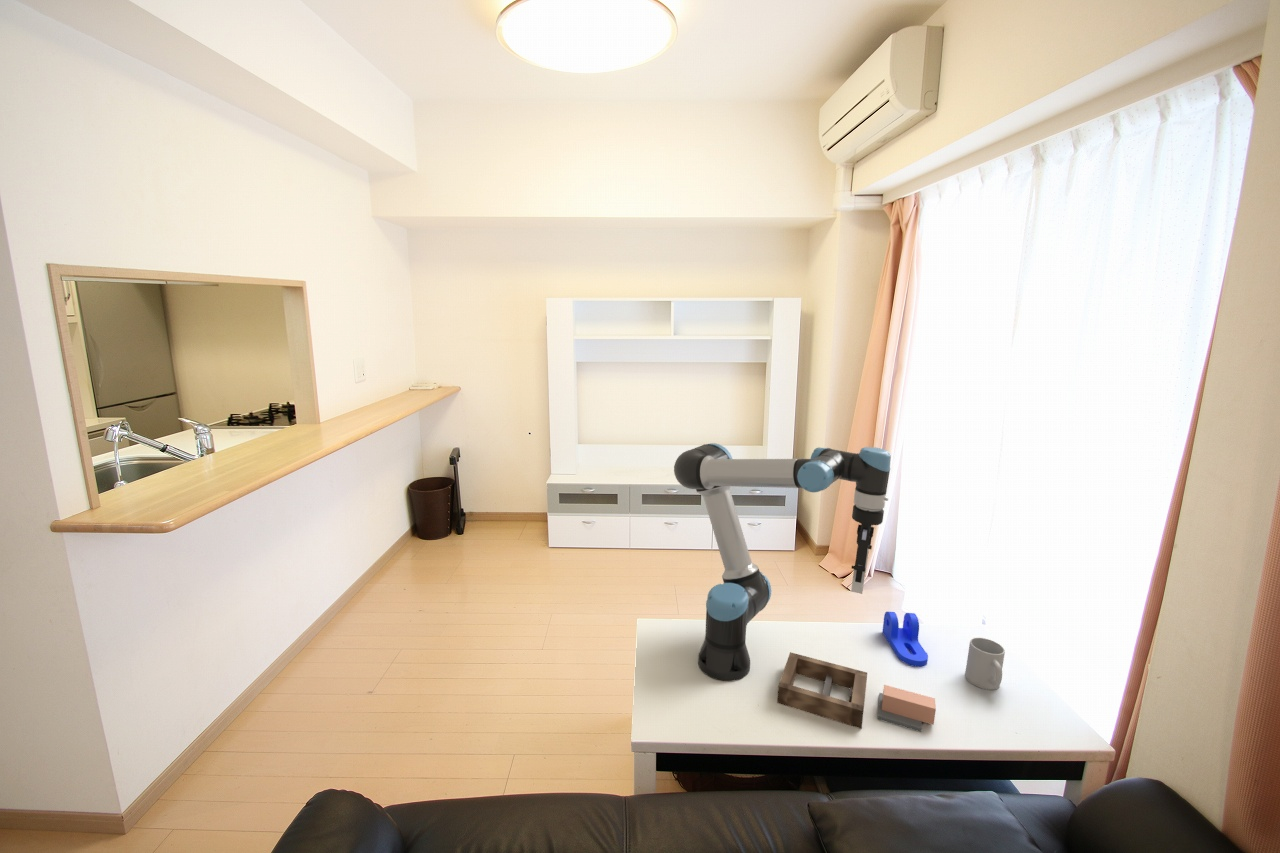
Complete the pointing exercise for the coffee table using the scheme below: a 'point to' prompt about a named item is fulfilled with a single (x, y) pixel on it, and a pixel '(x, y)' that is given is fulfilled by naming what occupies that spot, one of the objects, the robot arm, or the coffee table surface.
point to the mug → (984, 663)
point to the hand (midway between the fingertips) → (858, 581)
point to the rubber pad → (897, 718)
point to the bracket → (905, 638)
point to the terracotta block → (909, 704)
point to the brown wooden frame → (823, 702)
